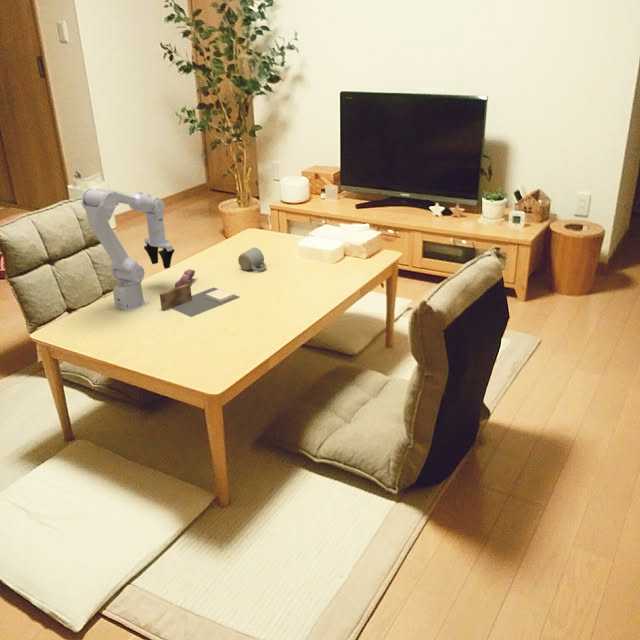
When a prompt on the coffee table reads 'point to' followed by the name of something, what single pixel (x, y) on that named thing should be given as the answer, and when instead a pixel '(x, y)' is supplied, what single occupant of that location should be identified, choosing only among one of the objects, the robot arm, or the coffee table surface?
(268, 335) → the coffee table surface
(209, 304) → the mat
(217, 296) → the tile
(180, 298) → the brown wooden block
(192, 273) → the pink irregular lump
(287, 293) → the coffee table surface
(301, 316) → the coffee table surface
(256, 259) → the ceramic mug
